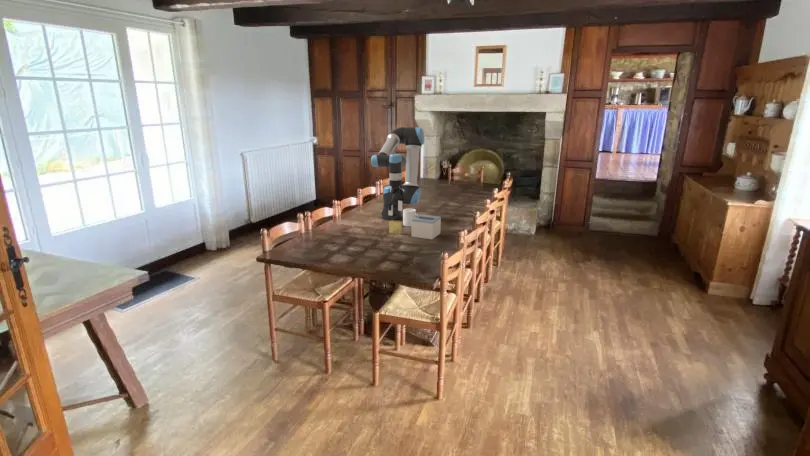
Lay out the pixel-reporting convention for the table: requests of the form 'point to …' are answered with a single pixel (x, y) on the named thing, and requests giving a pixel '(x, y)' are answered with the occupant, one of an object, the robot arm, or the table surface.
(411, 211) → the mug
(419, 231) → the coin box
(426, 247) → the table surface
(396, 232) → the block
